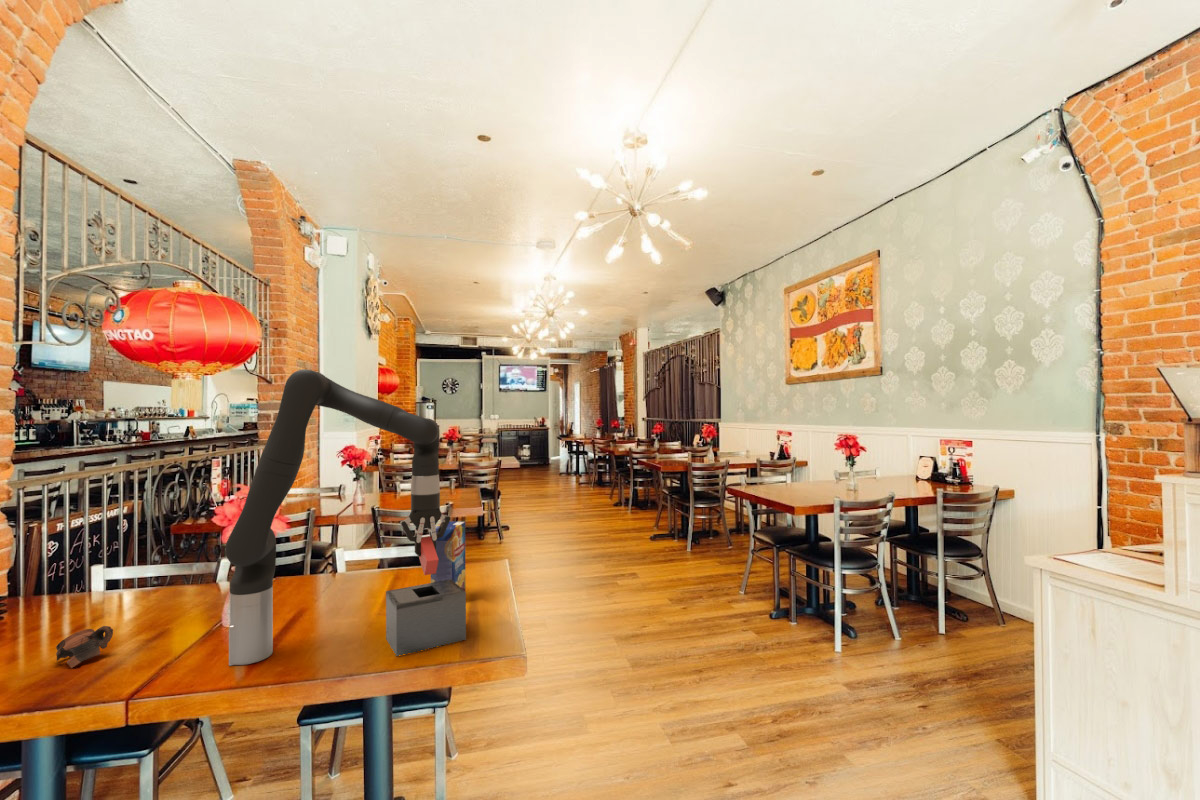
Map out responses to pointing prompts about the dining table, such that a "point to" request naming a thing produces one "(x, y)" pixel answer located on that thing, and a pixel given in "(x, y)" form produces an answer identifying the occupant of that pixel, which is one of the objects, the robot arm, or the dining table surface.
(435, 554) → the red rectangular block
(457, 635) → the grey slotted box
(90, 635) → the brown curved piece
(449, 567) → the blue tall cardboard box
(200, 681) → the dining table surface
